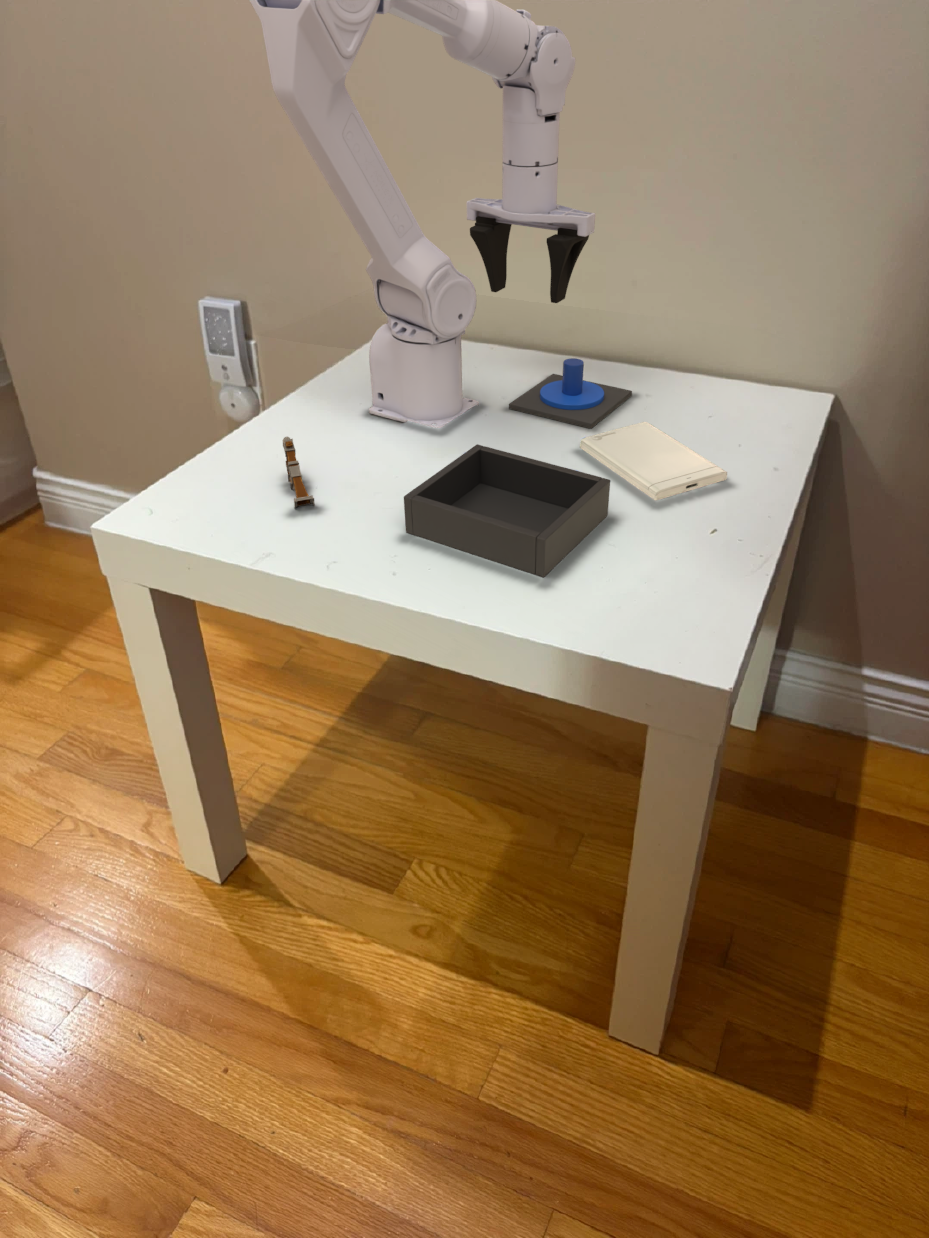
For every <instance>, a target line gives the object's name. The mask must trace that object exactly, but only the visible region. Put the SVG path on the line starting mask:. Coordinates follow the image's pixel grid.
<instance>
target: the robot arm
mask: <svg viewBox="0 0 929 1238" xmlns="http://www.w3.org/2000/svg"><path fill="white" fill-rule="evenodd" d="M248 1H249V4H250V5H251V7H252V9H253V10H254V12H255V14H256V16H257V17H258V19H259V21H260V24H261V30H262V35H263V41H264V46H265V52H266V58H267V64H268V69H269V76H270V82H271V86H272V90H273V93H274V95H275V97H276V100H277V101H278V103H279V105H280V107H281V108H282V110H283V111H284V114H285V115H286V116H287V118H288V120H289V121H290V123H291V125H292V126H293V128H294V130H295V131H296V133H297V135H298V137H299V138H300V140H301V142H302V144H303V145H304V147H305V148H306V150H307V151H308V153H309V155H310V156H311V159H312V160H313V161H314V163H315V165H316V167H317V168H318V170H319V171H320V173H321V175H322V176H323V179H324V180H325V181H326V183H327V185H328V186H329V188H330V190H331V192H332V193H333V195H334V196H335V198H336V200H337V201H338V203H339V205H340V207H341V208H342V210H343V212H344V213H345V215H346V216H347V218H348V220H349V221H350V224H351V225H352V227H353V228H354V230H355V231H356V233H357V235H358V237H359V239H360V240H361V241H362V243H363V245H364V246H365V248H366V250H367V252H368V253H369V255H370V259H369V261H368V263H367V265H366V268H365V271H366V273H367V275H368V276H369V278H370V280H371V283H372V286H373V295H374V300H375V303H376V306H377V307H378V309H379V310H380V312H381V313H382V314H384V315H385V316H386V318H387V322H385V323H383V324H382V325H380V327H378V328H377V330H376V331H375V332H374V334H373V336H372V338H371V341H370V345H369V351H368V358H369V359H368V361H369V363H368V364H369V376H370V385H371V387H370V388H371V400H372V406H370V407H369V408H368V413H369V414H371V415H375V416H378V417H382V418H386V419H391V420H393V421H396V422H397V421H398V422H400V423H407V422H411V423H416V424H418V425H423V426H426V427H431V428H434V429H441V428H443V427H444V426H446V425H448V424H449V423H451V422H452V421H453V420H455V419H457V418H458V417H459V416H462V415H463V414H464V413H466V412H467V411H469V410H470V409H472V408H473V407H475V406H479V404H480V402H479V401H478V400H476V399H473V398H472V399H471V398H467V397H463V396H464V395H463V357H462V356H463V355H462V354H463V353H462V336H463V335H466V329H467V328H468V327H469V326H470V324H471V322H472V321H473V318H474V316H475V312H476V308H477V292H476V288H475V285H474V283H473V281H472V280H471V278H470V277H468V275H465V274H464V273H462V272H460V271H459V270H458V269H457V267H456V266H455V265H454V263H453V261H452V260H451V257H449V255H448V254H446V253H445V252H444V251H443V250H441V249H440V248H439V247H438V246H436V244H434V243H433V241H431V240H430V239H428V237H427V236H425V234H424V232H423V230H422V228H421V226H420V224H419V223H418V220H417V219H416V218H415V217H416V216H415V215H414V213H413V212H412V209H411V208H410V206H409V204H408V202H407V200H406V198H405V196H404V195H403V192H402V191H401V189H400V187H399V185H398V183H397V181H396V179H395V178H394V176H393V174H392V172H391V170H390V168H389V166H388V165H387V162H386V161H385V159H384V156H383V155H382V153H381V151H380V149H379V148H378V146H377V143H376V141H375V140H374V138H373V137H372V136H373V135H372V134H371V132H370V131H369V129H368V127H367V125H366V123H365V122H364V120H363V119H364V118H362V115H361V114H360V112H359V111H358V108H357V107H356V104H355V103H354V101H353V99H352V97H351V95H350V93H349V91H348V89H347V88H346V79H347V75H348V73H349V72H350V71H351V68H352V66H353V64H354V62H355V60H356V57H357V55H358V53H359V51H360V49H361V46H362V45H363V43H364V40H365V38H366V36H367V34H368V32H369V30H370V27H371V26H372V23H373V21H374V19H375V17H376V15H386V14H389V15H393V16H395V17H397V18H399V19H402V20H404V21H407V22H409V23H411V24H413V25H416V26H418V27H421V28H423V29H426V30H428V31H430V32H432V33H434V34H437V35H440V36H441V38H442V43H443V47H444V49H445V51H446V53H447V55H448V56H449V57H450V58H452V59H454V60H456V61H458V62H460V63H461V64H464V65H466V66H468V67H470V68H473V69H475V70H476V71H479V72H480V73H483V74H485V75H487V76H489V77H491V78H492V81H493V83H494V85H496V87H497V88H498V89H500V90H501V89H502V154H501V155H502V157H501V159H502V163H501V165H502V172H501V177H502V179H501V180H502V181H501V182H502V183H501V184H502V185H501V186H502V187H501V189H502V191H501V193H502V195H501V198H484V197H474V198H472V199H469V200H467V201H466V220H467V221H472V222H475V223H474V225H473V226H471V227H470V228H469V236H470V238H471V239H472V241H473V242H474V244H475V246H476V247H477V250H478V252H479V254H480V257H481V258H482V263H483V265H484V268H485V271H486V276H487V279H488V282H489V288H490V292H491V293H498V292H500V291H502V290H504V289H506V285H507V277H508V276H507V275H508V274H507V271H508V270H507V269H508V268H507V266H508V265H507V260H508V259H507V257H508V246H509V239H510V233H511V229H512V225H514V226H521V227H529V228H535V229H543V230H549V231H556V232H557V233H554V234H552V235H550V236H548V237H546V245H547V250H548V257H549V267H550V283H549V284H550V285H549V287H550V288H549V296H550V297H549V298H550V303H552V304H558V303H561V301H563V300H565V299H566V297H567V296H566V294H567V291H568V288H569V283H570V280H571V278H572V274H573V272H574V268H575V266H576V264H577V261H578V259H579V256H580V255H581V252H582V251H583V249H584V247H585V245H586V243H587V242H588V240H589V238H590V236H591V235H593V234H594V233H595V224H596V213H595V212H590V211H585V210H580V209H576V208H573V207H569V206H565V205H562V204H558V178H559V177H558V176H559V175H558V174H559V147H560V121H561V119H560V118H561V113H562V112H563V109H564V106H566V92H567V88H568V86H569V85H570V82H571V80H572V78H573V76H574V71H575V68H576V67H575V66H576V57H575V56H573V49H572V46H571V43H570V41H569V39H568V38H567V36H566V35H565V33H564V32H563V31H562V29H560V28H559V27H557V26H555V25H543V24H542V25H541V24H536V22H534V21H533V20H532V14H531V12H529V11H527V10H526V9H520V8H518V9H516V10H515V9H513V8H511V7H510V6H508V5H506V4H504V3H503V2H500V1H499V0H248Z"/></svg>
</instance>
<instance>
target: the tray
mask: <svg viewBox="0 0 929 1238" xmlns="http://www.w3.org/2000/svg"><path fill="white" fill-rule="evenodd" d="M610 490H611V479H609V478H605V477H602V476H598V475H594V474H591V473H587V472H583V471H579V470H575V469H572V468H568V467H565V466H560V465H557V464H552V463H549V462H546V461H541V460H537V459H534V458H532V457H531V458H530V457H527V456H523V455H519V454H515V453H512V452H508V451H503V450H500V449H496V448H493V447H490V446H485V445H481V444H478V443H477V444H475V445H474V446H473V447H471V448H469V449H468V450H467V451H466V452H464V453H462V454H461V455H459V456H458V457H456V458H455V459H454V460H452V461H451V462H450V463H448V464H447V465H445V467H443V468H441V469H440V470H439V471H437V472H436V473H434V474H433V475H432V476H430V477H429V478H428V479H425V481H423V482H422V483H420V484H419V485H418V486H416V487H415V488H413V489H411V490H410V492H408V493H407V494H405V495H404V496H403V509H404V510H403V511H404V522H405V533H406V534H409V535H412V536H414V537H418V538H421V539H423V540H427V541H430V542H433V543H435V544H439V545H441V546H445V547H448V548H451V549H454V550H456V551H457V550H458V551H460V552H463V553H467V554H469V555H472V556H475V557H479V558H481V559H485V560H488V561H491V562H494V563H497V564H499V565H504V566H507V567H509V568H512V569H515V570H518V571H522V572H524V573H527V574H531V575H534V576H536V577H540V578H542V579H545V577H546V576H547V575H548V574H550V573H551V571H553V570H554V569H555V567H557V566H558V565H559V564H560V563H561V562H562V561H563V560H564V559H565V558H567V556H568V555H569V554H570V553H571V552H572V551H573V550H574V549H575V548H576V547H578V546H579V544H580V543H581V542H582V541H583V540H585V539H586V537H588V536H589V535H590V534H591V533H592V532H594V530H595V529H596V528H597V527H598V526H599V525H600V524H601V523H602V522H603V521H604V520H605V519H606V518H607V517H608V514H609V503H610V502H609V501H610Z"/></svg>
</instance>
